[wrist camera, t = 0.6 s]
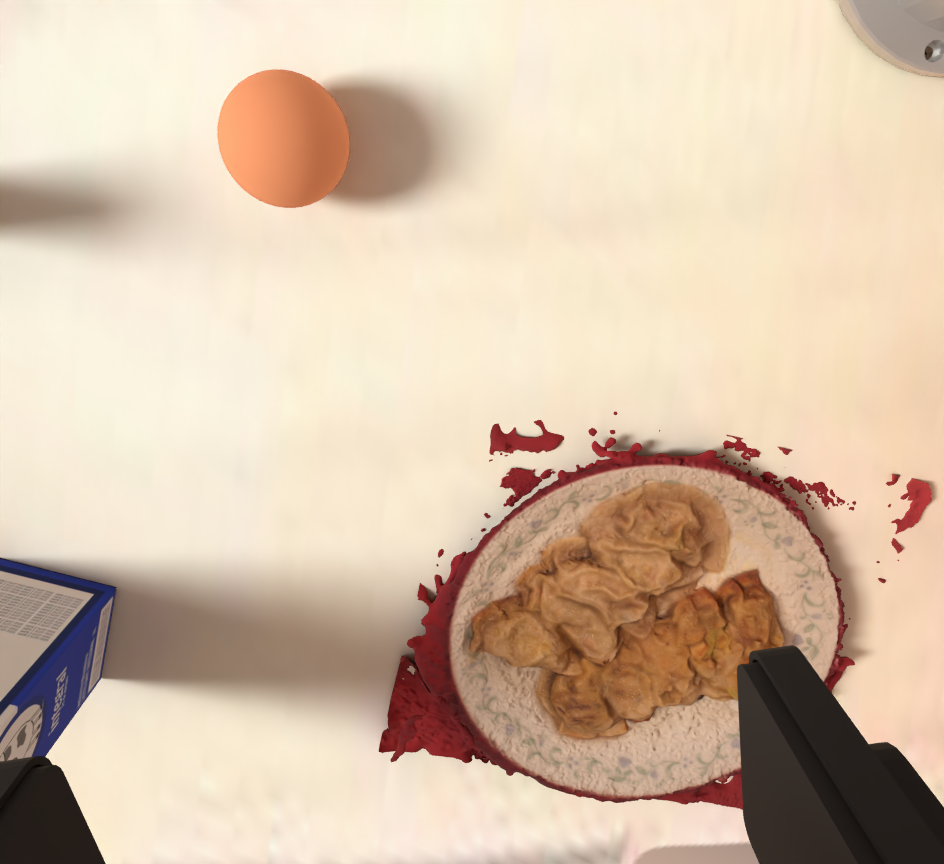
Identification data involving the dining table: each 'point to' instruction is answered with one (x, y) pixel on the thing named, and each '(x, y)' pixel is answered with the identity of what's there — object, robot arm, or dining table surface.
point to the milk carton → (47, 653)
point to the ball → (283, 138)
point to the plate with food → (621, 623)
